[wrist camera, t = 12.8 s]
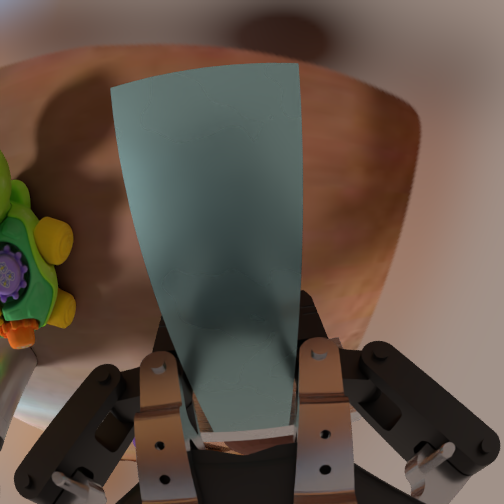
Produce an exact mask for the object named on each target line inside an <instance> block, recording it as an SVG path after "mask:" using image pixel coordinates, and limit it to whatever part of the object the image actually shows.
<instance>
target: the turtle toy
mask: <svg viewBox="0 0 504 504" xmlns="http://www.w3.org/2000/svg"><path fill="white" fill-rule="evenodd" d="M72 244H73V232H72V229H71V227H70V226H69V225H68V224H67V223H65V222H63V221H60V220H57V219H54V218H50V217H44V218H42V219H41V220H40V221H39V220H38V218H37V217H36V216H35V214H34V213H33V212H32V210H31V203H30V195H29V191H28V188H27V187H26V185H25V184H24V183H23V182H22V181H19V180H11V175H10V170H9V166H8V163H7V161H6V159H5V157H4V155H3V153H2V152H1V150H0V337H1V338H7V339H8V341H9V344H10V346H11V347H12V348H13V349H24V348H27V347H30V346H32V345H33V344H34V343H35V335H34V331H35V330H38V329H39V328H40V327H44V326H45V325H46V324H49V325H54V326H57V327H60V328H66V327H68V326H69V325H70V324H71V323H72V321H73V318H74V315H75V310H76V302H75V300H74V297H73V296H72V295H71V294H69V293H67V292H65V291H62V290H61V289H60V288H58V282H57V276H56V271H55V268H54V265H59V264H62V263H63V262H64V261H65V260H66V259H67V257H68V256H69V254H70V251H71V248H72ZM53 264H54V265H53Z"/></svg>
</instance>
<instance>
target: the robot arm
mask: <svg viewBox="0 0 504 504" xmlns="http://www.w3.org/2000/svg"><path fill="white" fill-rule="evenodd" d="M36 365H37V359H36V356H35V354H34V353H33V351H32V350H31V348H30V347H27V348H24V349H13V348H12V347H11V346H10V344H9V341H8V339H7V338H1V337H0V451H1V449H2V446H3V443H4V440H5V437H6V434H7V431H8V428H9V425H10V422H11V420H12V417H13V415H14V412H15V410H16V408H17V405H18V403H19V401H20V398H21V396H22V394H23V392H24V389H25V387H26V385H27V383H28V381H29V379H30V377H31V375H32V373H33V371H34V369H35V367H36ZM294 379H295V383H296V399H295V421H294V436H293V443H288V444H281V445H276V446H273V447H270V448H267V449H264V450H261V451H258V452H255V453H252V454H249V455H236V454H230V453H225V452H219V451H214V450H206V449H205V446H204V443H203V441H202V438H201V434H200V429H199V424H198V420H197V415H196V410H195V405H194V400H193V398H192V395H193V389H192V387H191V385H190V383H189V380H188V378H187V376H186V374H185V371H184V369H183V367H182V364H181V362H180V360H179V357H178V355H177V352H176V350H175V348H174V345H173V343H172V340H171V337H170V335H169V332H168V330H167V327H166V324H165V322H164V319H163V316H161V321H160V324H159V328H158V331H157V335H156V339H155V343H154V347H153V351H152V353H151V354H149V355H147V356H146V357H145V358H144V359H143V360H142V362H141V364H140V367H137V368H134V369H130V370H126V371H122V372H120V371H119V369H118V368H117V367H116V366H114V365H111V364H104V365H100V366H98V367H96V368H95V369H94V370H93V371H92V372H91V373H90V374H89V376H88V377H87V378H86V379H85V380H84V382H83V383H82V384H81V385H80V387H79V388H78V389H77V390H76V391H75V393H74V394H73V395H72V396H71V398H70V399H69V400H68V401H67V403H66V404H65V405H64V406H63V408H62V409H61V410H60V412H59V413H58V414H57V415H56V417H55V418H54V419H53V421H52V422H51V423H50V424H49V426H48V427H47V428H46V430H45V431H44V432H43V434H42V435H41V436H40V438H39V439H38V440H37V442H36V443H35V444H34V446H33V447H32V449H31V450H30V451H29V453H28V454H27V455H26V457H25V458H24V460H23V461H22V463H21V464H20V465H19V467H18V468H17V470H16V472H15V475H14V483H15V487H16V489H17V491H18V492H19V493H20V495H22V496H23V497H24V498H26V499H29V500H30V501H33V502H35V503H37V504H106V502H107V499H106V497H105V492H104V490H103V488H102V487H103V486H104V484H105V483H106V481H107V480H108V478H109V476H110V475H111V473H112V472H113V470H114V469H115V467H116V465H117V464H118V462H119V461H120V459H121V458H122V456H123V455H124V453H125V451H126V450H127V448H128V447H129V445H130V444H131V442H132V440H133V439H134V437H135V446H136V458H137V468H138V477H139V482H138V483H137V484H136V485H135V486H134V487H133V488H132V489H131V490H130V491H129V492H128V493H127V494H126V495H124V496H123V497H122V498H121V499H120V500H119V501H118V502H117V503H116V504H449V503H450V502H451V500H452V499H453V498H454V497H455V496H456V494H457V493H458V492H459V491H460V490H461V489H462V487H463V486H464V485H465V484H466V482H467V481H468V480H469V478H470V477H471V476H472V475H473V474H475V473H477V472H478V471H480V470H481V469H483V468H485V467H486V466H488V465H489V464H491V463H492V462H493V461H494V460H495V459H496V458H497V456H498V454H499V451H500V440H499V437H498V435H497V434H496V433H495V432H494V431H493V430H492V429H491V428H490V427H489V426H487V425H486V424H485V423H484V422H483V421H481V420H480V419H479V418H478V417H477V416H476V415H474V414H473V413H472V412H471V411H470V410H469V409H467V408H466V407H465V406H464V405H463V404H462V403H460V402H459V401H458V400H457V399H456V398H454V397H453V396H452V395H451V394H450V393H449V392H447V391H446V390H445V389H444V388H443V387H442V386H440V385H439V384H438V383H437V382H436V381H434V380H433V379H432V378H431V377H429V376H428V375H427V374H426V373H424V371H422V370H421V369H420V368H419V367H417V366H416V365H415V364H414V363H413V362H411V361H410V360H409V359H408V358H407V357H405V356H404V355H403V354H402V353H400V352H399V351H398V350H397V349H395V348H394V347H393V346H392V345H390V344H388V343H386V342H383V341H373V342H370V343H368V344H367V345H365V346H364V348H363V350H362V351H360V350H346V349H342V348H339V347H337V345H336V344H335V343H334V342H333V341H331V340H330V339H328V337H327V334H326V332H325V329H324V327H323V324H322V322H321V319H320V317H319V314H318V313H317V310H316V307H315V305H314V302H313V300H312V297H311V296H310V295H309V294H307V293H306V292H305V291H304V290H301V291H300V308H299V324H298V339H297V351H296V363H295V374H294ZM349 403H350V404H351V405H352V406H353V407H354V409H355V410H356V411H357V412H358V413H359V414H360V415H361V416H362V417H363V418H364V419H365V420H366V421H367V422H368V423H369V424H370V425H371V426H372V427H373V428H374V429H375V430H376V431H377V432H378V433H379V434H380V435H381V436H382V437H383V438H384V439H385V440H386V442H388V443H389V445H391V446H392V447H393V449H394V450H395V451H396V452H398V453H399V454H400V456H402V458H403V459H405V460H406V461H407V464H406V466H405V476H406V479H407V480H408V481H409V483H410V485H411V496H410V495H408V494H406V493H404V492H403V491H401V490H399V489H397V488H395V487H393V486H391V485H390V484H388V483H386V482H385V481H383V480H381V479H379V478H378V477H376V476H374V475H373V474H371V473H369V472H368V471H366V470H365V469H363V468H361V467H360V466H358V465H356V464H355V463H354V459H353V441H352V426H351V414H350V404H349ZM107 414H108V415H107ZM104 418H105V419H104ZM102 421H103V422H102ZM97 428H98V429H97Z"/></svg>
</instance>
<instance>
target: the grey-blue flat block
mask: <svg viewBox="0 0 504 504" xmlns="http://www.w3.org/2000/svg"><path fill="white" fill-rule="evenodd" d="M110 89H111V99H112V109H113V117H114V125H115V132H116V139H117V145H118V151H119V157H120V162H121V168H122V173H123V178H124V183H125V188H126V192H127V197H128V201H129V206H130V210H131V214H132V218H133V222H134V226H135V230H136V234H137V237H138V241H139V245H140V248H141V252H142V255H143V259H144V262H145V265H146V269H147V272H148V275H149V278H150V281H151V284H152V287H153V290H154V293H155V296H156V299H157V302H158V305H159V308H160V311H161V314H162V316H163V319H164V322H165V324H166V327H167V330H168V332H169V335H170V337H171V340H172V343H173V345H174V348H175V350H176V352H177V355H178V357H179V360H180V362H181V364H182V367H183V369H184V371H185V374H186V376H187V378H188V380H189V383H190V385H191V387H192V389H193V395H192V398H193V400H194V405H195V410H196V415H197V420H198V424H199V429H200V434H201V438H202V441H203V442H223V441H242V440H254V439H264V438H273V437H281V436H288V435H294V421H295V399H296V383H295V379H294V374H295V363H296V351H297V339H298V324H299V308H300V289H301V266H302V231H303V154H302V120H301V98H300V80H299V66H298V63H255V64H237V65H225V66H215V67H206V68H199V69H192V70H186V71H180V72H174V73H169V74H164V75H159V76H154V77H150V78H145V79H141V80H137V81H133V82H130V83H126V84H122V85H119V86H116V87H112V88H110ZM330 340H331V341H333V342H334V343H335V344H336V345H337V347H339V348H342V349H343V347H342V345H341V342H340V340H339V337H338V338H332V339H330ZM349 404H350V403H349ZM350 414H351V422H354V421H358V420H360V418H361V417H362V416H361V415H360V414H359V413H358V412H357V411H356V410H355V409H354V407H353V406H352V405H351V404H350Z"/></svg>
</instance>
